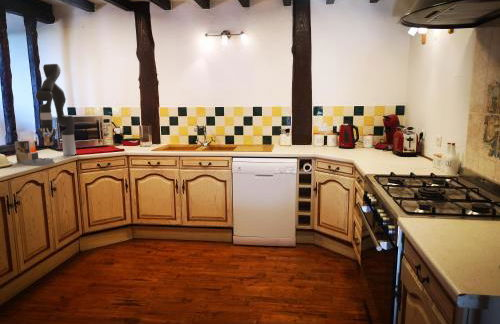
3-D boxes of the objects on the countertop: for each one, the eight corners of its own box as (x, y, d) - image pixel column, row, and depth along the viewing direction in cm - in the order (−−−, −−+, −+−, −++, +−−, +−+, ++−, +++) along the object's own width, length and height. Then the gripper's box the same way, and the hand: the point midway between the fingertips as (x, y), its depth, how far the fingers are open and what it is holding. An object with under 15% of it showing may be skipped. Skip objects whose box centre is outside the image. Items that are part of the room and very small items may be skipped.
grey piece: (34, 162, 278) (33, 151, 277) (54, 162, 275) (53, 152, 274) (23, 164, 268) (22, 153, 266) (43, 165, 265) (42, 154, 263)
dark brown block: (53, 144, 277) (52, 135, 276) (48, 145, 272) (47, 136, 270) (49, 144, 278) (48, 135, 277) (44, 145, 272) (43, 136, 271)
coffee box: (32, 161, 281) (30, 140, 278) (30, 162, 275) (28, 141, 272) (18, 162, 277) (15, 140, 275) (16, 163, 272) (14, 141, 269)
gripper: (58, 118, 274) (60, 141, 277) (40, 118, 276) (42, 141, 279) (52, 119, 267) (54, 143, 270) (33, 119, 268) (36, 142, 271)
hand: (48, 142), depth 274 cm, fingers closed on dark brown block, 3 cm apart
